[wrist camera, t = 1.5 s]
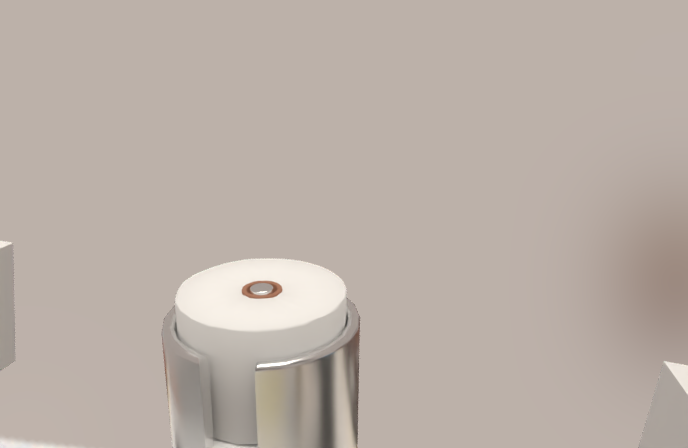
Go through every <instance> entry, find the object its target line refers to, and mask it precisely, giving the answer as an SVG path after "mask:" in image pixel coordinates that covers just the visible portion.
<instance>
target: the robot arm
mask: <svg viewBox="0 0 688 448" xmlns="http://www.w3.org/2000/svg"><path fill="white" fill-rule="evenodd" d="M14 315H15V314H14V264H13V243H10V242H5V241H0V371H1V370H2V369H4V368H5V367H7V366H8V365H10V364H11V363H13V362H14V361H15V316H14ZM638 448H688V365H682V364H677V363H671V362H666V361H664V362H663V365H662V369H661V372H660V376H659V379H658V383H657V386H656V389H655V393H654V396H653V399H652V403H651V406H650V410H649V413H648V416H647V420H646V423H645V427H644V430H643V433H642V437H641V440H640V444H639V447H638Z"/></svg>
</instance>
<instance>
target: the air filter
mask: <svg viewBox="0 0 688 448" xmlns="http://www.w3.org/2000/svg"><path fill="white" fill-rule="evenodd" d="M359 341H360V316H359V314H358V311H357V309H356V308H355V305H354V304H353V303H352V302H351V301H350V300H349V299H348V298H347V289H346V287H345V284H344V282H343V280H342V279H341V278H339V277H338V276H337V275H336V274H335V273H333V272H332V271H330V270H327V269H325V268H323V267H321V266H318V265H315V264H311V263H307V262H304V261H297V260H290V259H245V260H239V261H234V262H228V263H225V264H222V265H218V266H215V267H212V268H209V269H206V270H204V271H201V272H199V273H196V274H194V275H193V276H191V277H190V278H189V279H187V280H186V281H184V282H183V283H182V285H181V286H180V288H179V290H178V291H177V293H176V297H175V306H174V307H173V308H172V309H171V310H170V312H169V313H168V314H167V315H166V317H165V318H164V322H163V328H162V344H163V354H164V364H165V374H166V386H167V397H168V407H169V417H170V428H171V439H172V448H357V444H358V393H359Z"/></svg>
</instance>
